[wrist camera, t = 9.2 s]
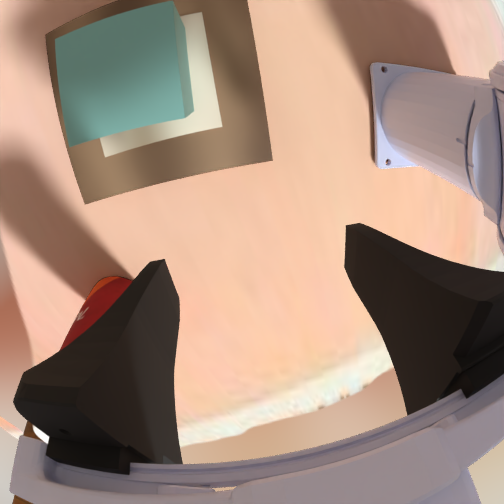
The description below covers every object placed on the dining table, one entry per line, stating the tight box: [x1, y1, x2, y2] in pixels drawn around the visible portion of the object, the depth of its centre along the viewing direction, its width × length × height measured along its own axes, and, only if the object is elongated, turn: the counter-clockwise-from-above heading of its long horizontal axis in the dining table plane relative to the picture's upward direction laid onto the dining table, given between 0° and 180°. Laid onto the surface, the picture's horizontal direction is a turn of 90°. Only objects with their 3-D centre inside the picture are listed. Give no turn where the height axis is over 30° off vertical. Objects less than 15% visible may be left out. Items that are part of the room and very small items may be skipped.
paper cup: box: [33, 276, 133, 444], centre depth 17 cm, size 8×8×14 cm
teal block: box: [55, 0, 194, 147], centre depth 10 cm, size 5×5×5 cm
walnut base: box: [45, 0, 273, 204], centre depth 14 cm, size 12×12×3 cm
